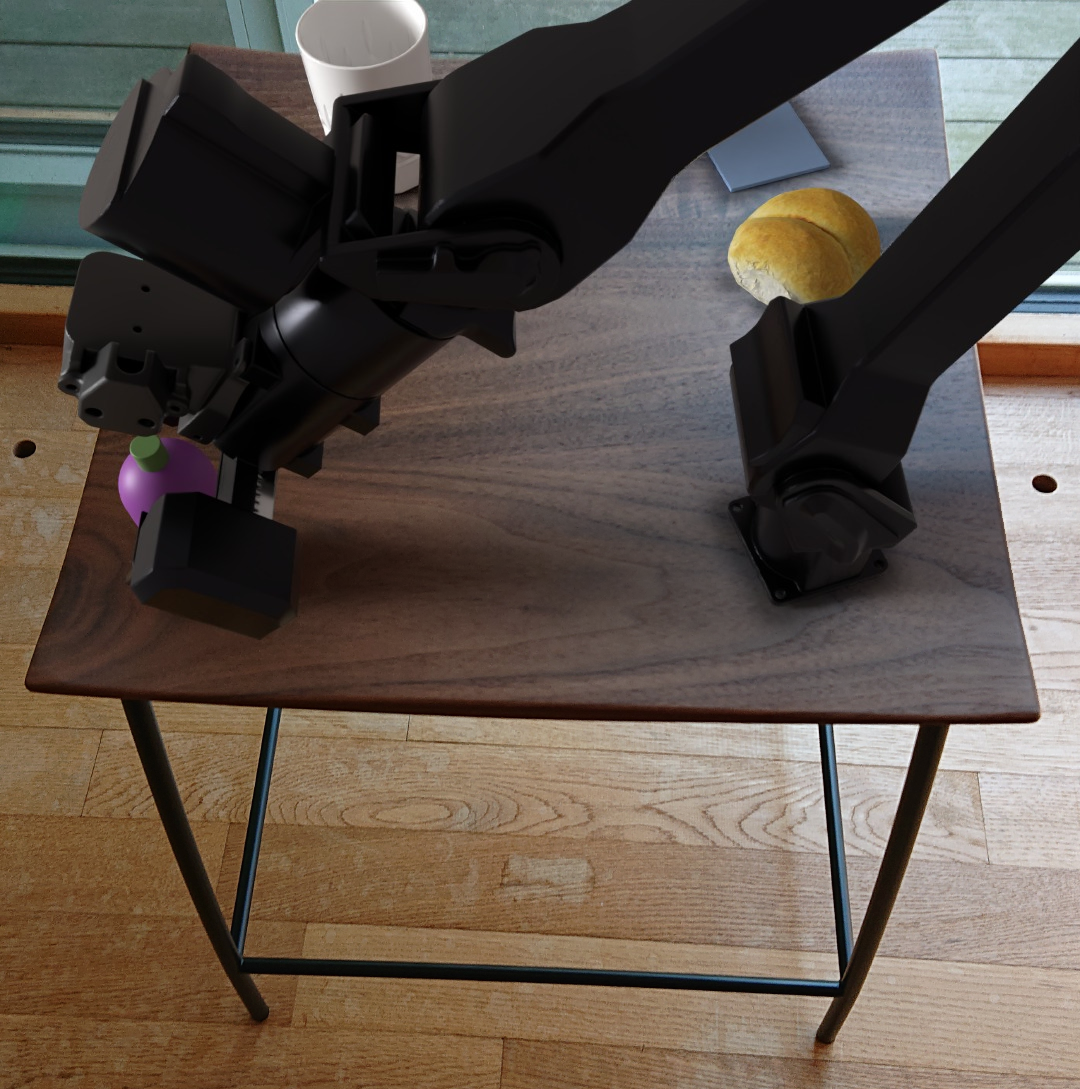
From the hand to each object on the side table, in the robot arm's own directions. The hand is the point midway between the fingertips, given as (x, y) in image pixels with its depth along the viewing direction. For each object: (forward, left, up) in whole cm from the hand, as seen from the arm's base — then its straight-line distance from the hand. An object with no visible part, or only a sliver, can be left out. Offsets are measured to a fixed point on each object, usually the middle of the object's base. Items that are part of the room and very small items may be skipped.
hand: (150, 498), depth 52 cm
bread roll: (+9, -39, -7) cm, 41 cm away
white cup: (+27, -17, -7) cm, 33 cm away
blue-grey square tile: (+20, -41, -7) cm, 46 cm away
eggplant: (0, -1, -7) cm, 7 cm away
